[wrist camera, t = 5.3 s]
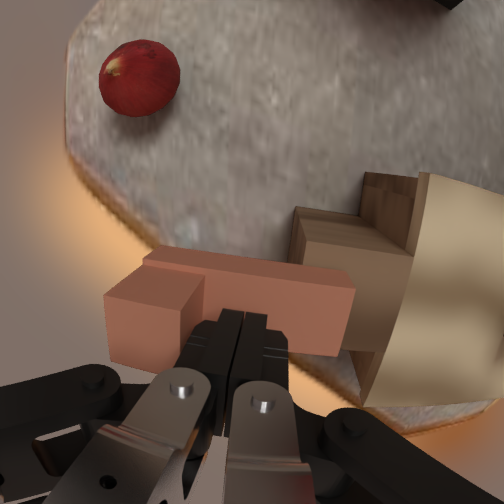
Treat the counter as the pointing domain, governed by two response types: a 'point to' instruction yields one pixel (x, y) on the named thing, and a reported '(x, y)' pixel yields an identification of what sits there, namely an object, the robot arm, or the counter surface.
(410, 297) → the lid
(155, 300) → the l-shaped block
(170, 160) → the counter surface
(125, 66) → the onion
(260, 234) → the counter surface
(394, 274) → the brown open box piece
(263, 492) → the robot arm
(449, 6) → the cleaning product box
